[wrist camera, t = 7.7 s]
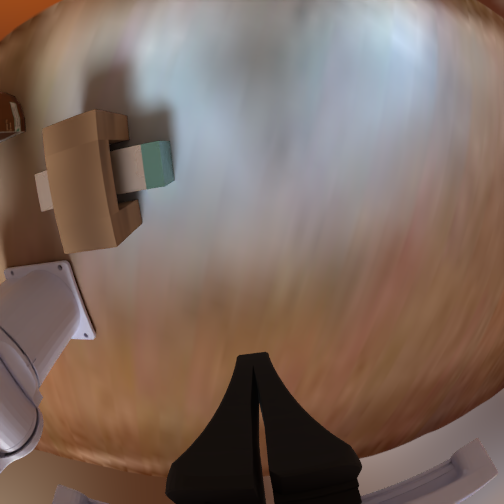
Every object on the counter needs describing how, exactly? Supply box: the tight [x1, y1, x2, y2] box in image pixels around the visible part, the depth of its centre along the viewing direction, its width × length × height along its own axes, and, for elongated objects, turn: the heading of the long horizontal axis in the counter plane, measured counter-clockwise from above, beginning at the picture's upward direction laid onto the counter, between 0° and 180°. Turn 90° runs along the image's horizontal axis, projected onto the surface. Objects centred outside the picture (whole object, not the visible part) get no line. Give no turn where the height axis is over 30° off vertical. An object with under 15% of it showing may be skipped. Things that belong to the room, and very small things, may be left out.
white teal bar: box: [35, 141, 174, 212], centre depth 17 cm, size 10×3×3 cm, turn 95°
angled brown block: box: [42, 109, 142, 254], centre depth 16 cm, size 4×8×5 cm, turn 5°
